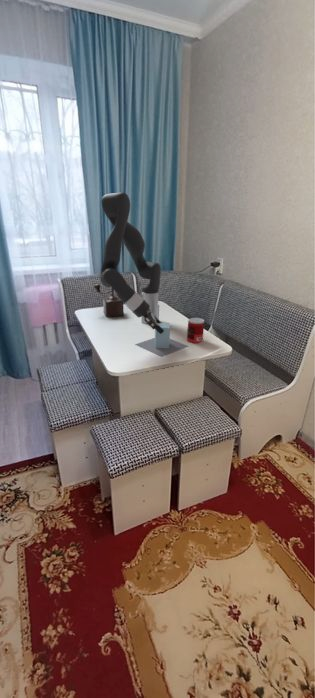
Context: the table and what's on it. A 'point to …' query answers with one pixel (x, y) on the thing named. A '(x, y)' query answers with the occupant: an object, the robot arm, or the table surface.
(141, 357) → the table surface
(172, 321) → the table surface
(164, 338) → the light blue tall box
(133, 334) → the table surface
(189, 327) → the canned food
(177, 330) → the table surface
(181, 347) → the mat
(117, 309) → the pepper mill
